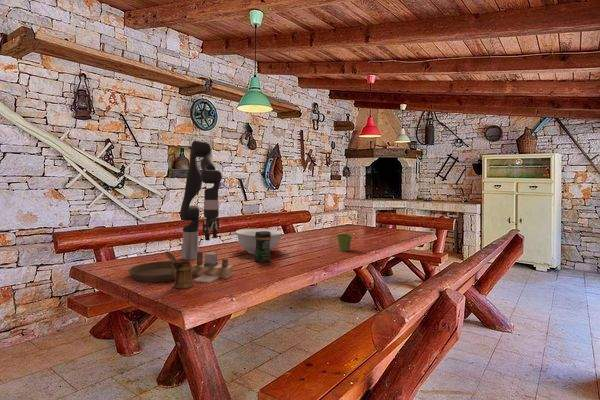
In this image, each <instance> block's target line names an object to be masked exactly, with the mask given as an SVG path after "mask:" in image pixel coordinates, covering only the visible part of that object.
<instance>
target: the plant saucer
mask: <svg viewBox="0 0 600 400" xmlns="http://www.w3.org/2000/svg"><path fill="white" fill-rule="evenodd" d="M176 262H181V261H178V260H176ZM172 263H173V262H172V261H171V260H165V261H164V260H162V261H153V262H146V263H140V264H138V265H134V266H132V267H129V269H128V273H129V274H130V276H131V277H133V278H134V280H136V281H139V282H145V283H146V282H147V283H161V282H170V281H175V279H174V277H173V275H172V273H171V265H172ZM192 266H193V264H191V267H192ZM174 272H175V273H176V268H175V270H174Z"/></svg>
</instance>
